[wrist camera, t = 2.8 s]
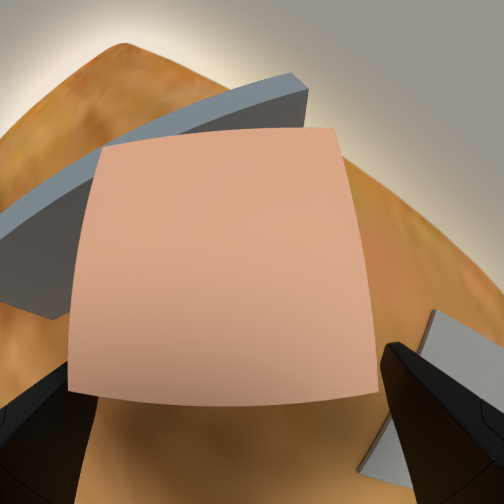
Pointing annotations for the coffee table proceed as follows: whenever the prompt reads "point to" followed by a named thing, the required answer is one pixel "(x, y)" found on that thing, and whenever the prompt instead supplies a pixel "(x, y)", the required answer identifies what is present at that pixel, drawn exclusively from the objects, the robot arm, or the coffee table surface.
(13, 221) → the screen
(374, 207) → the coffee table surface
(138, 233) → the salmon pink tall block
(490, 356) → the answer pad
